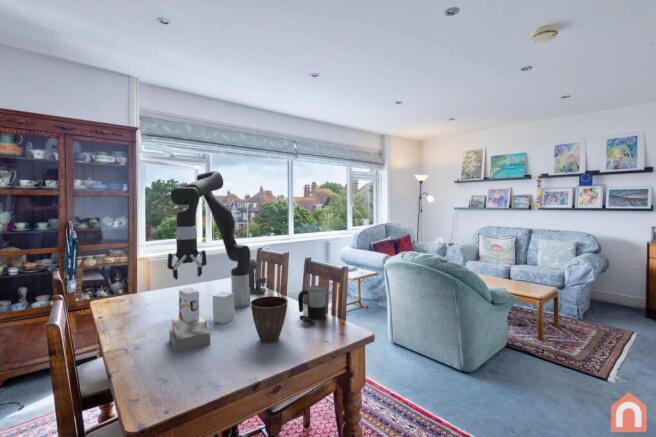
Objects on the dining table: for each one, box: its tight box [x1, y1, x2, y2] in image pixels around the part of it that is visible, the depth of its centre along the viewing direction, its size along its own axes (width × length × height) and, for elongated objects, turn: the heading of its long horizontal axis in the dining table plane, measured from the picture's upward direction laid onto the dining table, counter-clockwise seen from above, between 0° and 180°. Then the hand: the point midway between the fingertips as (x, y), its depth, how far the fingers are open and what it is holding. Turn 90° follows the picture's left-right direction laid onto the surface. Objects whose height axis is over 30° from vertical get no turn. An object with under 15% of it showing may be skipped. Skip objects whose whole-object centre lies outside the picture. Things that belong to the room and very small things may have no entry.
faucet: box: [249, 258, 267, 295], centre depth 210 cm, size 18×16×20 cm
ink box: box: [178, 287, 200, 323], centre depth 134 cm, size 9×5×12 cm, turn 46°
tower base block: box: [168, 328, 211, 353], centre depth 135 cm, size 13×13×5 cm
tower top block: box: [171, 312, 208, 340], centre depth 134 cm, size 11×11×5 cm
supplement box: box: [212, 291, 236, 324], centre depth 159 cm, size 7×7×13 cm
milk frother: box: [297, 285, 328, 326], centre depth 159 cm, size 14×16×15 cm
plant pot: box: [250, 295, 288, 344], centre depth 137 cm, size 15×15×16 cm
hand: (187, 277), depth 133 cm, fingers open, 8 cm apart
